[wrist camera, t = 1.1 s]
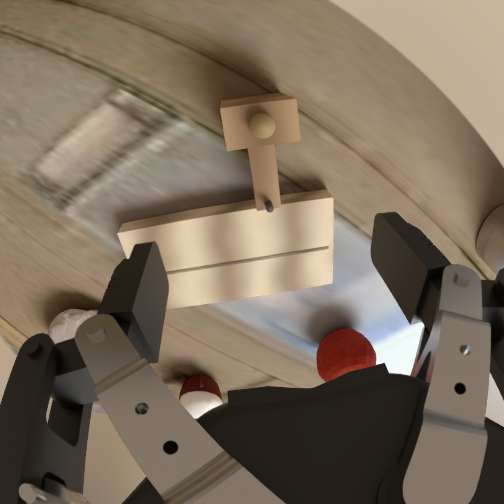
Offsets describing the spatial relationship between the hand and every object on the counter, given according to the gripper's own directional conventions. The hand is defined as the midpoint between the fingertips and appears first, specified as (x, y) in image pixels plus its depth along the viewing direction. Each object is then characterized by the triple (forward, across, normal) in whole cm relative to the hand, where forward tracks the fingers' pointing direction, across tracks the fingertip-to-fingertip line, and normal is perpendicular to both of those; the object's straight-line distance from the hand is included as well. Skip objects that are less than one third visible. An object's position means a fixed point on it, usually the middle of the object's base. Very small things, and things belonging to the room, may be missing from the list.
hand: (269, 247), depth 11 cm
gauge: (+17, -1, +1) cm, 17 cm away
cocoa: (+17, +10, +34) cm, 40 cm away
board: (+17, +2, +11) cm, 20 cm away
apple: (+17, -10, +28) cm, 34 cm away
